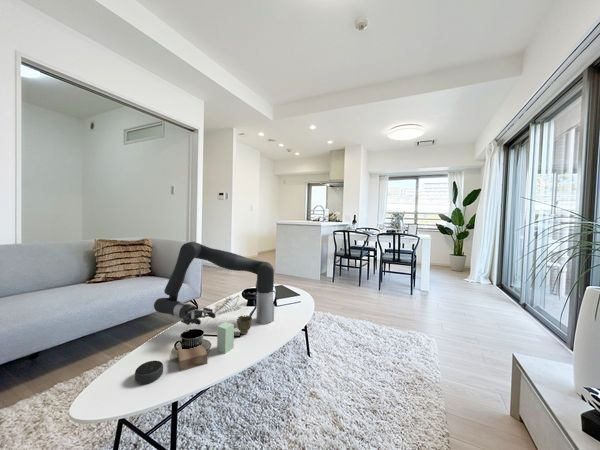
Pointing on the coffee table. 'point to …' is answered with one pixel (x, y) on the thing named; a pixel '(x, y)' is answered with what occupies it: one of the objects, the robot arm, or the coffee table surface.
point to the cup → (244, 324)
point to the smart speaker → (148, 372)
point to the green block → (225, 337)
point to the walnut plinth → (192, 357)
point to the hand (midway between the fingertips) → (207, 319)
